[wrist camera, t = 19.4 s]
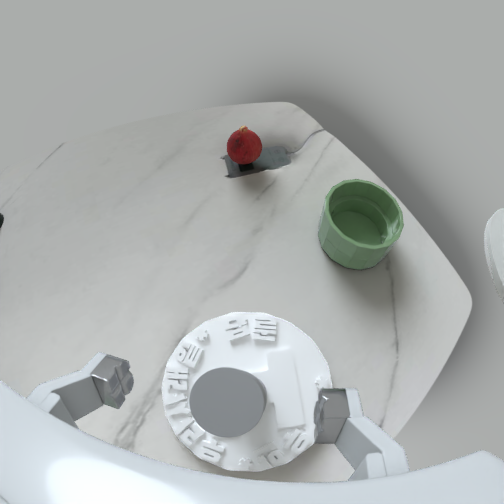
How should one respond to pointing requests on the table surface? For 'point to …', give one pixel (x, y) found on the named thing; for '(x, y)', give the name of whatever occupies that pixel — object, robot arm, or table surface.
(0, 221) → the wine bottle
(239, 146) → the onion
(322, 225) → the green faceted pot
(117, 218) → the table surface
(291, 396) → the giant coin
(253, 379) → the container
